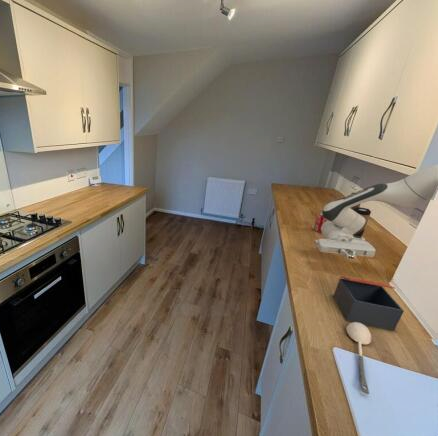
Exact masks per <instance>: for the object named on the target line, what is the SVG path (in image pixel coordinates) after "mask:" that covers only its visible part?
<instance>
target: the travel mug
mask: <svg viewBox="0 0 438 436" xmlns="http://www.w3.org/2000/svg"><path fill="white" fill-rule="evenodd" d="M354 211H355V212H357V213H358V214H360V215H361V216H362V217H364V218H365V219H366V225H365V227H364V229H363V230H362V231H361V232H360V233H358V234H356V235H354V236H359V237H363V235H364V232H365V230H366V228H367V225H368V221H369V219H370V216H371V213H372V210H370V209H369V208H367V207H361V206H360V207H355V209H354Z"/></svg>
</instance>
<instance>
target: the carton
mask: <svg viewBox="0 0 438 436" xmlns="http://www.w3.org/2000/svg"><path fill="white" fill-rule="evenodd" d="M335 287H336V288H335V290H334V294H333V298H334V300H335V301H336V303H337V305H338V307H339V309H340V311H341V313H342V315H343V316H344V318H345V320H346V321H349V322H351V323H352V322H359V323H361V324H363V325H365V326H370V327H374V328H378V329H382V330H386V331H392V332H394V331H395V330H396V328H397V327H398V324H399V322H400V320H401V317H402V316H403V314H404V313H405V310H404V309H403V308H402V306H401V305H400V304H399V303H398V302H397V301H396V300H395V299H394V298H393V296H392V295H391V294H390V293H389V292H388V291H387V290H386V289H385V287H383V286H377V285H372V284H366V283H361V282H356V281H350V280H347V279H344V278H341V277H339V279H338V282H337V285H336V286H335Z"/></svg>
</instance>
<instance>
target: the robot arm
mask: <svg viewBox="0 0 438 436" xmlns="http://www.w3.org/2000/svg"><path fill="white" fill-rule="evenodd" d="M437 186H438V163H437V164H434V165H430V166H428V167H425V168H423V169H420V170H418V171H416V172H413V173H412V174H409V175H408V176H406V177H404V178H402V179H400V180H397V181H394V182H393V181H392V182H388V183H377V184H374V185H371V186H368V187H365V188H364V189H361V190H357V191H356V192H353V193H354V194H352V193H351V194H349V195H347V196H344V197H341V198H338V199H336V200H332V201H329V202H327V203H326V204H325V205H324V206H323V207H322V212H321V213H322V214H323V217H324V218H325V219H327V220H329V221H326V222H325V223H323V225H322V227H321V232H322V233H321V235H322V237H323V238H318V239H315V240H314V243H315V244H316V245H317V251H319V252H320V253H326V254H333V255H334V254H337V255H340V256H343V257H345V259H349V260H356V258H357V257H363V258H373V257H374V256H375V254H376V248H375V247H374V246H373V245H372V244H371V243H370V242H368V241H367V240H366V239H365V237H363V236H362V237H359V236H354V235H356V234H358V233H360V232H361V231H362V230H363V229H364V227H365V225H366V219H365V218H364V217H362V216H361V215H360V214H358V213H357V212H355V211H354V210H352V209H351V207H353V206H356V205H358V204H360V205H361V204H364V203H367V202H380V203H385V204H389V205H391V206H395V207H399V208H400V207H402V208H409V207H414V206H418V205H420V204H422V203H424V202H426V201H429V200H431V199H433V198H432V196H433V194H434V192H435V190H436V188H437ZM366 226H367V225H366Z"/></svg>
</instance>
